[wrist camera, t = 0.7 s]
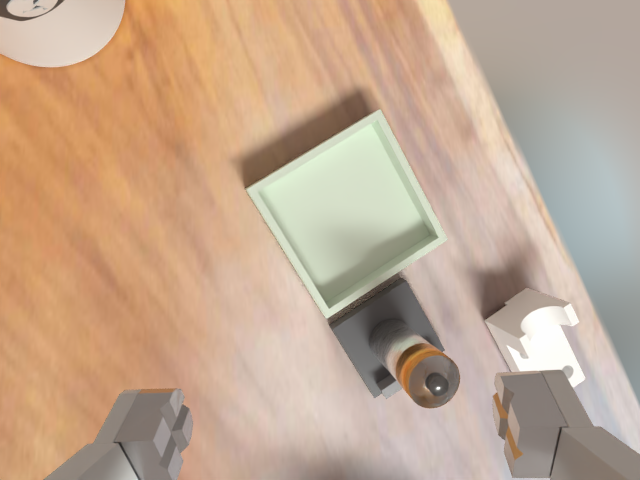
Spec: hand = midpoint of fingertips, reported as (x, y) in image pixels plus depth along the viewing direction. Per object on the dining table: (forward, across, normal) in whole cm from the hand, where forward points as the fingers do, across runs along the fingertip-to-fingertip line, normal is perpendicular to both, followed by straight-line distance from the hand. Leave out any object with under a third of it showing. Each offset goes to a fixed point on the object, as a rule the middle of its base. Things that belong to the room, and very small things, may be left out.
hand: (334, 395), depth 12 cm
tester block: (+32, -2, +28) cm, 43 cm away
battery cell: (+31, -3, +28) cm, 42 cm away
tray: (+37, +1, +14) cm, 39 cm away
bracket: (+36, -20, +34) cm, 54 cm away
